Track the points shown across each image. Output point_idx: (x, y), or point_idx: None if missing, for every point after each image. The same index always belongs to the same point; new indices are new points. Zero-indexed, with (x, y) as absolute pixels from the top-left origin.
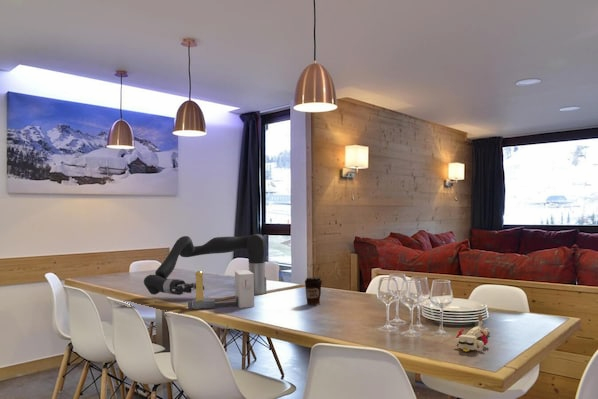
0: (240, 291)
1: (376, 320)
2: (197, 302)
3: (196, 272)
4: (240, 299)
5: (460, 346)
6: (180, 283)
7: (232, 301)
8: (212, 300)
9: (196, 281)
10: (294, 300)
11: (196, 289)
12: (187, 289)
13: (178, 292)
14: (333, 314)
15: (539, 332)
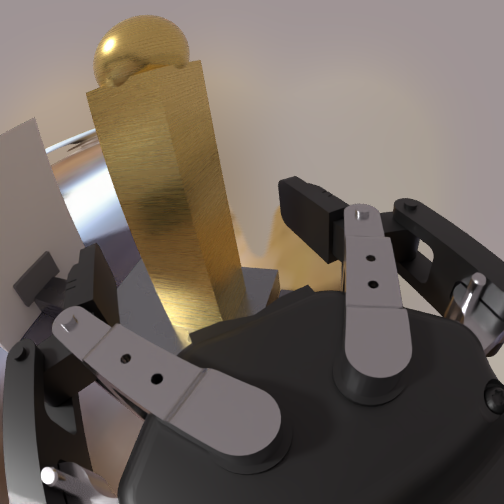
0: (58, 193)
1: (84, 151)
2: (250, 269)
3: (172, 22)
4: (73, 225)
5: None
6: (421, 495)
7: (55, 288)
8: (144, 269)
9: (207, 116)
10: None
11: (224, 198)
12: (320, 188)
13: (418, 252)
14: (71, 171)
15: (77, 135)
